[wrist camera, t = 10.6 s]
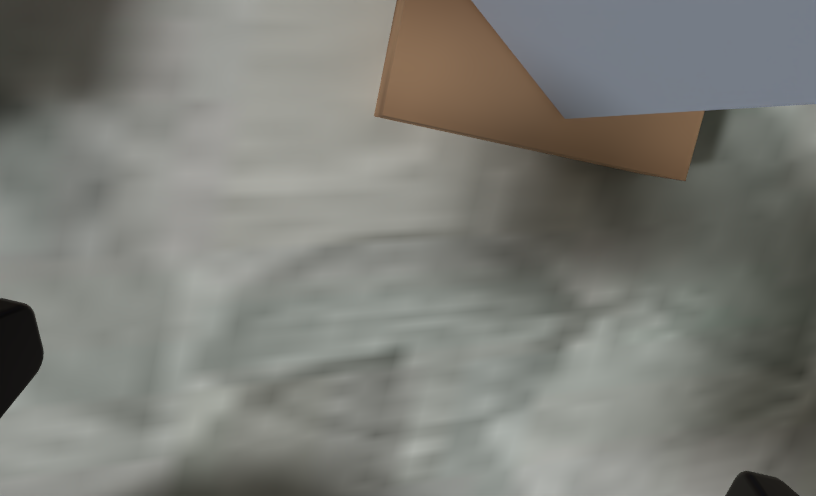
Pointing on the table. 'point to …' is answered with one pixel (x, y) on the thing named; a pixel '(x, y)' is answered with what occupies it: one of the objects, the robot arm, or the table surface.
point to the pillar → (661, 53)
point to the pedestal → (510, 96)
